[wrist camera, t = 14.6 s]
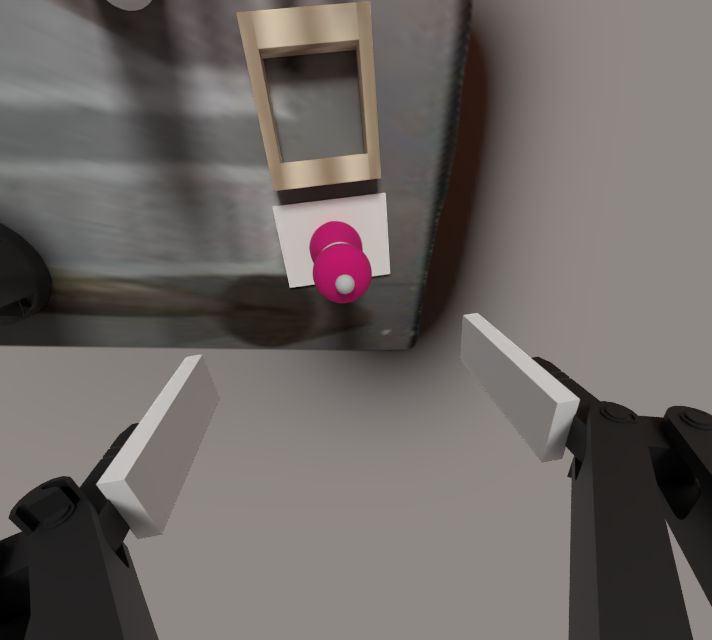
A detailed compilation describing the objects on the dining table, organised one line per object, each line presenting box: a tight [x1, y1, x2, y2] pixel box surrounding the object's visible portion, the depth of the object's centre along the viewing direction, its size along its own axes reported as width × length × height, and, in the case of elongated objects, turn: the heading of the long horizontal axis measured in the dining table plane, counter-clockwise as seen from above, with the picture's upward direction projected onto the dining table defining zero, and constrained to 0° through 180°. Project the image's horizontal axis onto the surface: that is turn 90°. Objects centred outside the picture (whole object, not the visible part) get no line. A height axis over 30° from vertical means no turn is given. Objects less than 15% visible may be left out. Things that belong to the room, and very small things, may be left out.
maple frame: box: [236, 1, 381, 191], centre depth 36 cm, size 14×17×3 cm
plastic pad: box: [272, 193, 390, 288], centre depth 45 cm, size 16×12×1 cm
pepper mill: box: [309, 221, 372, 303], centre depth 35 cm, size 7×7×20 cm
